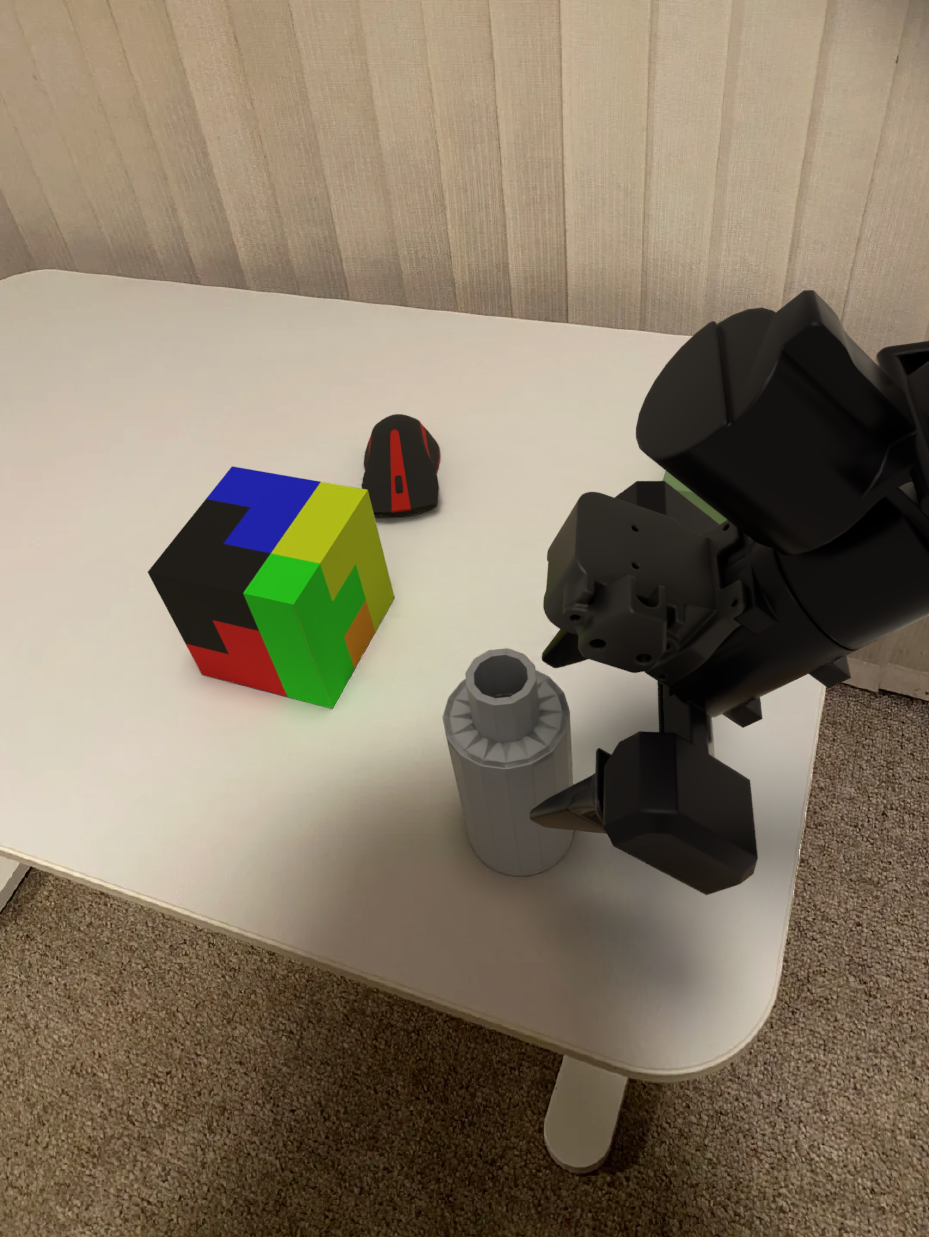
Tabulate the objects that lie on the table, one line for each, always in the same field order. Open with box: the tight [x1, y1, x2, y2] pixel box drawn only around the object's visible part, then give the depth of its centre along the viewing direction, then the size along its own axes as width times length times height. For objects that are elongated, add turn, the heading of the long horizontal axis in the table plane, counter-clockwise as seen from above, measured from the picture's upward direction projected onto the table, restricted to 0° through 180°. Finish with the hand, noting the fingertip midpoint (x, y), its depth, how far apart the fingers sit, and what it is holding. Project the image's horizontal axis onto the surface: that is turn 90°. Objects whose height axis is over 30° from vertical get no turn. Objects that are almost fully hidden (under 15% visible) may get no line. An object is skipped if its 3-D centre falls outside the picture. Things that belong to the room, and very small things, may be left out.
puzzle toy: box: [147, 465, 396, 710], centre depth 60 cm, size 10×10×10 cm
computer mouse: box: [361, 413, 441, 518], centre depth 72 cm, size 6×11×4 cm, turn 4°
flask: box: [442, 647, 575, 877], centre depth 47 cm, size 6×6×14 cm
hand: (542, 735), depth 45 cm, fingers open, 9 cm apart
